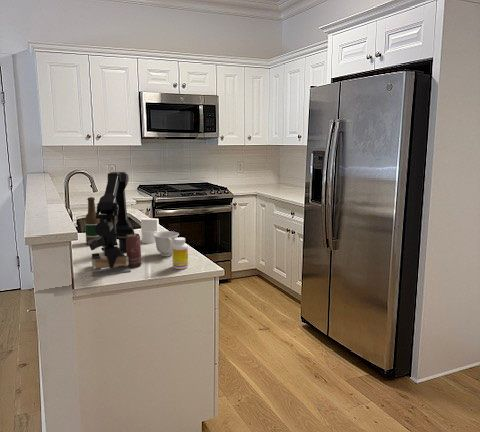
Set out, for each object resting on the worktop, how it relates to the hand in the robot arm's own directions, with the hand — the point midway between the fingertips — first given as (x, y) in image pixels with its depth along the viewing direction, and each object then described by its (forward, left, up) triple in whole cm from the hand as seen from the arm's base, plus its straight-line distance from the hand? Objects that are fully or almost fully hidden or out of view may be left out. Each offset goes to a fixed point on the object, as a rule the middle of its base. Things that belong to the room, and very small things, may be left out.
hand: (110, 266), depth 186 cm
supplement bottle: (+5, +28, -3) cm, 29 cm away
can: (-4, +10, -2) cm, 12 cm away
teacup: (-14, +27, -3) cm, 31 cm away
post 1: (-8, -5, -2) cm, 10 cm away
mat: (0, 0, -2) cm, 2 cm away
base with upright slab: (-42, +25, -3) cm, 49 cm away
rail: (0, 0, 0) cm, 0 cm away
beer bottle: (-48, -3, -3) cm, 48 cm away
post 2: (-8, +5, -2) cm, 10 cm away
